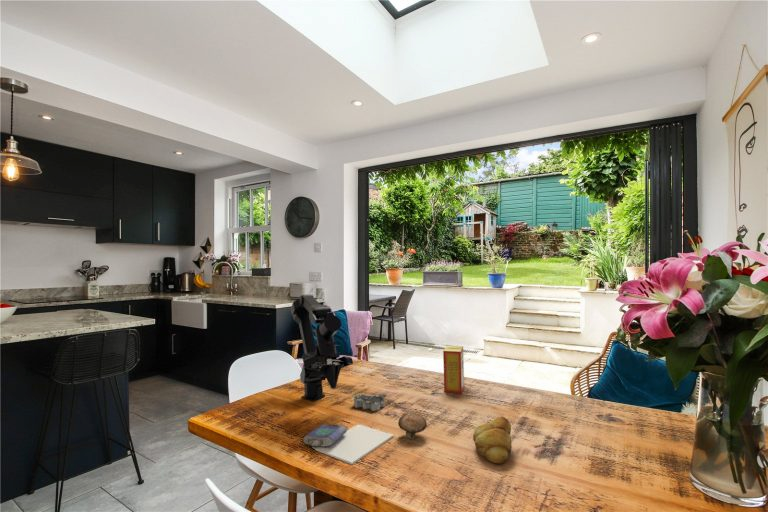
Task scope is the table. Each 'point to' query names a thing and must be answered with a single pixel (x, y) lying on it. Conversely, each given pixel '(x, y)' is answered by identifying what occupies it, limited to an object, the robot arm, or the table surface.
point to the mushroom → (412, 424)
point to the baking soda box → (453, 369)
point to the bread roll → (494, 440)
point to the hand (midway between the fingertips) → (333, 388)
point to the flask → (324, 435)
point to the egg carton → (370, 401)
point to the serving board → (355, 444)
